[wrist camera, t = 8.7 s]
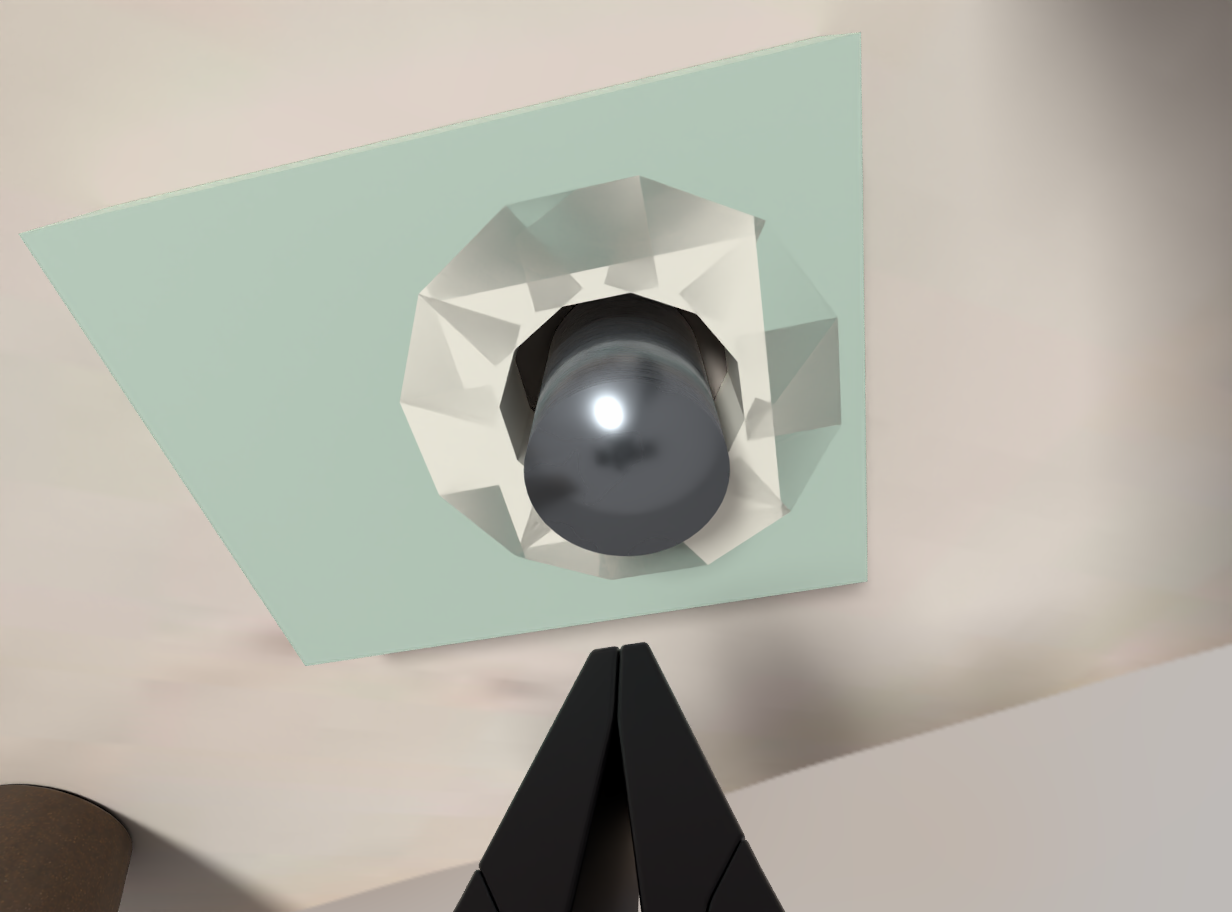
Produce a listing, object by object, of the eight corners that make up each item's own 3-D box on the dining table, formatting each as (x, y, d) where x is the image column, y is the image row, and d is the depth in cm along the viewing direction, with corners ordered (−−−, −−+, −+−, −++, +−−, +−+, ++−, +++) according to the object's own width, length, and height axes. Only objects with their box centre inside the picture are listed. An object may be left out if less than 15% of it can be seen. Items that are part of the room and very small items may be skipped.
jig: (818, 36, 15) (860, 32, 12) (838, 520, 22) (867, 581, 19) (109, 206, 17) (18, 233, 14) (338, 600, 24) (305, 665, 21)
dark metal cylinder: (687, 275, 18) (715, 363, 13) (708, 416, 20) (740, 539, 15) (530, 307, 18) (497, 405, 13) (569, 441, 20) (552, 569, 15)
